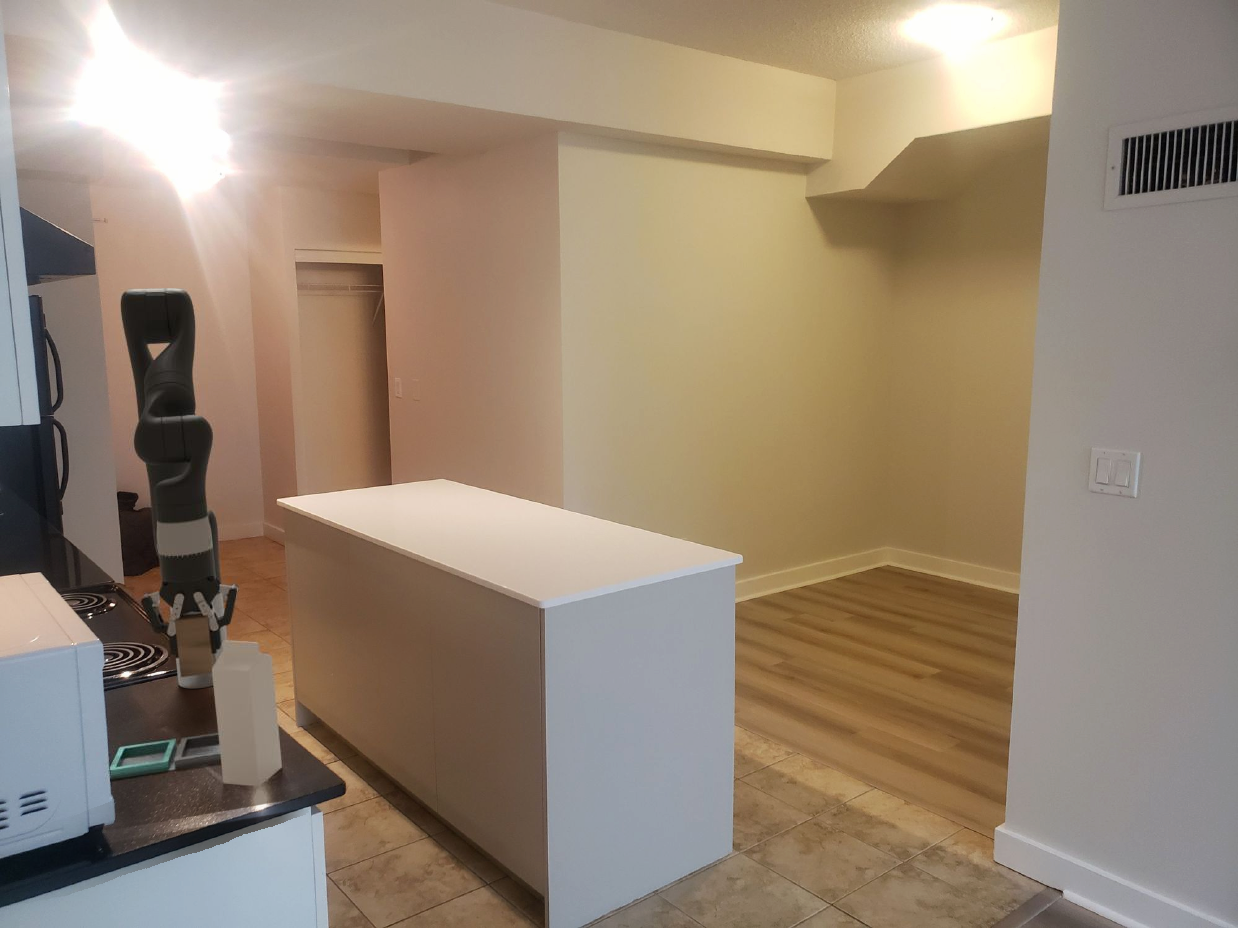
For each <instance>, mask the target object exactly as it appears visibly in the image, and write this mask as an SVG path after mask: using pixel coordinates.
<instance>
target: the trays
mask: <svg viewBox="0 0 1238 928" xmlns="http://www.w3.org/2000/svg"><path fill="white" fill-rule="evenodd" d="M214 764H221V754H220V744H219V734H218V732H215V733H206V734H200V735H194V736H187V737H182V738H181V740H180V743H179V744H177V739H176V738H173V739H167V740H161V741H152V742H146V743H139V744H132V745H126V746H125V745H124V746H120V747H119V748H118V750H117V752H116V754H115V756H114V759H113V760H112V762H111V765H110V767H109V768H110V770H111V780H116V779H125V778H127V777H128V778H129V777H136V776H141V775H142V776H143V775H148V774H149V775H150V774H155V773H162V772H168V771H175V770H182V769H188V768H193V767H194V768H195V767H201V766H206V765H214Z"/></svg>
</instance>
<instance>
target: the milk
mask: <svg viewBox="0 0 1238 928" xmlns="http://www.w3.org/2000/svg"><path fill="white" fill-rule="evenodd" d="M222 645H223V651H222V653H221V655H220V656H219V658H218V659H217V661H216V663H215V664H214V666H213V668H212V676H213V695H214V704H215V713H216V714H215V715H216V723H217V733H218V734H219V744H220V754H221V763H220V764H221V773H222V783H223V784H229V785H238V786H239V785H240V786H251V787H261V786H262V785H263V784H264V783H265V782H267V781H268V780H269V779H270V778H271V777H273V775H276V773H277V772H278V771H280V770H281V768H282V767H283V766H282V765H283V764H282V755H281V754H282V753H281V743H280V733H279V732H280V731H279V722H278V710H277V700H276V699H277V698H276V690H275V688H276V687H275V678H274V667H273V666H274V665H273V656H272V655H269V654H265V653H263V652H260V644H259V643H258V642H256V641H241V640H240V641H239V640H238V641H237V640H227V641H223V642H222Z"/></svg>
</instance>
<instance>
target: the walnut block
mask: <svg viewBox="0 0 1238 928" xmlns="http://www.w3.org/2000/svg"><path fill="white" fill-rule="evenodd" d="M175 627H176V636H177V645H178V655H179V664H180V673H181V677H187V676H195V675H203V674H211V673H212V668H213V666H214V664H215V663H216V657H215V653H214V654H212V648H211V639H210V630H211V629H210V627H209V620H208V616H203V614H202V612H189V613H186V614H181V616H180V618H179V619H176V620H175Z"/></svg>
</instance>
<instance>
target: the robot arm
mask: <svg viewBox="0 0 1238 928" xmlns="http://www.w3.org/2000/svg"><path fill="white" fill-rule="evenodd" d="M120 313H121V314H120V315H121V321H122V326H123V327H122V328H123V332H124V337H125V342H126V346H127V351H128V356H129V360H130V365H131V370H132V371H131V372H132V376H133V382H134V388H135V397H136V404H137V405H136V406H137V407H136V408H137V415H138V422H137V425H136V428H135V430H134V436H133V448H134V451H135V454H136V455H137V457H138V458H139V460H141V461H143V463H145V467H146V472H147V478H148V479H147V480H148V485H149V494H150V495H149V496H150V509H151V520H152V521H151V522H152V524H151V525H152V534H153V542H154V549H155V551H156V552H155V553H156V555H157V557H158V559H159V570H160V571H159V572H160V578H161V585H160V588H159V590H157V591H155V592H152V593H150V592H147V593H145V594H144V595H143V597H142V598H141V600H140V603H141V606H142V608H143V609H144V612H145V614H146V616H147V618H148V620H149V623H150V625H151V628H152V629H153V631H154V633H156V634H166V635H167V636H168V641H169V649H170V653H171V655H172V656H175V661H176V662H175V663H176V670H177V682H178V686H180V688H181V687H182V688H185V689H203V688H208V687H212V686H213V676H212V673H211V674H203V675H195V676H187V677H181V673H180V664H179V655H178V645H177V636H176V627H175V620H176V619H179V618H180V616H181V614H186V613H189V612H202V614H203V616H208V620H209V627H210V629H211V630H210V639H211V648H212V654H214V653H215V657H216V661H217V659H218V658H219V656H220V655H221V653H222V651H223V645H222V642H223V641H228V634H227V626H229V625H230V624H231V622H232V618H233V615H234V611H235V606H236V601H237V597H238V591H239V586H238V584H235V583H232V584H231V585H229V584H222V577H221V568H220V558H219V557H220V556H219V555H220V554H219V552H220V551H219V532H218V530H219V529H218V528H219V527H218V522H217V517H216V515H215V513H214V511H212V510H211V509H208V505H207V504H208V503H207V492H206V482H207V481H206V478H207V473H208V464H209V461H210V455H211V451H212V447H213V440H214V433H213V429H212V426H211V424H210V422H209V421H208V420H207V419H206V418H205V417H203V416H201V415H200V414H199V415H198V414H196V408H197V406H196V405H197V403H196V396H195V387H194V376H193V367H194V360H195V348H196V347H195V345H196V317H195V309H194V304H193V301H192V299H191V296H190V294H189V293H188V292H187V291H186V290H184V289H181V288H174V287H172V288H168V287H167V288H133V289H127V290H125V291H124V292H123V293H122V294H121V297H120ZM159 344H161V345H162V344H168V345H167V346H166V347H165V348H164V349H163V351H161V352H160V353H159V354H158V355H157V356H156V357H155V358H153V355H152V353H151V351H150V349H149V345H159ZM160 599H162V600H163V601H164V602H165V603H166V604H167V605H168V606H169V607H170V608H169V609H170V617H169V622H165V620H164V618H163V616H162V613H161V612H160V609H159V607H158V606H159V605H160V604H161V600H160ZM224 600H225V601H226V602H225V605H224ZM213 687H214V686H213Z"/></svg>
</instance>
